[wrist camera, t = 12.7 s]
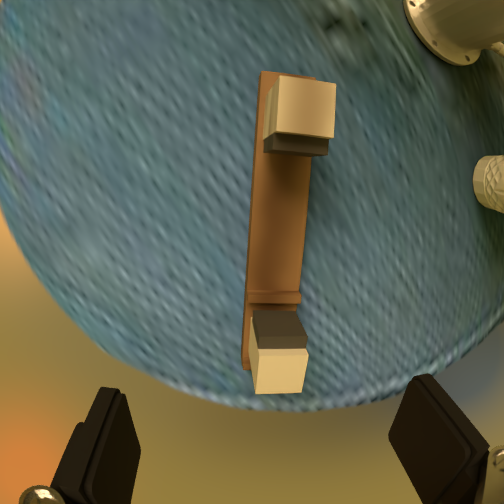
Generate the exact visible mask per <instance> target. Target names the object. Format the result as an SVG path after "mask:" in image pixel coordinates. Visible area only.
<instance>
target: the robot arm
mask: <svg viewBox="0 0 504 504" xmlns="http://www.w3.org/2000/svg"><path fill="white" fill-rule="evenodd" d="M403 5H404V10H405V14H406V16H407V19H408V21H409V23H410V25H411V27H412V28H413V30H414V32H415V33H416V35H417V36H418V37H419V39H420V40H421V41H422V42H423V43H424V45H425V46H426V47H427V48H428V49H429V50H430V51H431V52H432V53H434V54H435V55H436V56H438V57H439V58H440V59H442V60H444V61H446V62H447V63H450V64H453V65H456V66H465V65H469V64H472V63H474V62H475V61H476V60H477V59H478V58H479V56H480V53H481V50H483V49H487V50H493V51H494V52H495V53H497V54H499V55H500V56H502V57H504V44H502V43H501V41H504V0H403ZM388 436H389V441H390V443H391V445H392V447H393V449H394V450H395V452H396V454H397V456H398V458H399V460H400V462H401V463H402V465H403V467H404V469H405V471H406V473H407V475H408V476H409V478H410V480H411V482H412V484H413V486H414V487H415V489H416V492H417V494H418V495H419V497H420V499H421V501H422V503H423V504H504V446H497V447H495V448H493V449H492V450H491V452H489V451H488V448H489V447H490V445H489V444H488V443H487V441H486V440H485V439H484V438H483V437H482V435H481V434H480V433H479V431H478V430H477V429H476V428H475V427H474V425H473V424H472V423H471V422H470V420H469V419H468V418H467V417H466V415H465V414H464V413H463V412H462V411H461V409H460V408H459V407H458V406H457V405H456V403H455V402H454V401H453V400H452V399H451V397H450V396H449V395H448V394H447V393H446V392H445V390H444V389H443V388H442V387H441V386H440V385H439V383H438V382H437V381H436V380H435V379H434V378H433V376H432V375H430V374H428V373H427V374H423V375H418V376H414V377H413V378H412V380H411V381H410V382H409V383H408V385H407V388H406V391H405V393H404V396H403V399H402V402H401V404H400V407H399V409H398V412H397V414H396V416H395V419H394V421H393V424H392V426H391V428H390V431H389V434H388ZM140 454H141V449H140V444H139V441H138V438H137V435H136V431H135V428H134V424H133V421H132V417H131V414H130V410H129V406H128V403H127V399H126V396H125V394H121V393H120V390H119V389H116V388H107V387H101V388H100V389H99V391H98V393H97V395H96V398H95V400H94V402H93V404H92V406H91V409H90V411H89V413H88V416H87V418H86V420H85V422H84V423H83V422H79V423H78V424H77V425H76V427H75V429H74V431H73V433H72V436H71V438H70V440H69V442H68V445H67V447H66V449H65V451H64V454H63V456H62V458H61V461H60V463H59V466H58V468H57V470H56V473H55V476H54V478H53V480H52V483H51V485H50V487H48V486H43V485H37V486H32V487H30V488H28V489H26V490H25V491H24V492H23V493H22V494H21V496H20V498H19V504H131V499H132V493H133V488H134V483H135V478H136V474H137V469H138V464H139V459H140Z"/></svg>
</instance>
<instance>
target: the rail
mask: <svg viewBox="0 0 504 504" xmlns="http://www.w3.org/2000/svg"><path fill="white" fill-rule="evenodd" d="M335 97H336V84H333V83H327V82H322V81H316V78H313V77H307V76H300V75H293V74H285V73H277V72H268V71H261V73H260V76H259V84H258V98H257V113H256V127H255V142H254V157H253V172H252V187H251V202H250V218H249V233H248V249H247V264H246V280H245V296H244V312H243V329H242V345H241V361H242V366H243V370H251V364H250V358H249V352H248V349H249V336H250V324H251V317H252V316H253V310H272V311H295V312H296V308H297V303H301V294H300V292H299V284H300V275H301V266H302V257H303V248H304V238H305V228H306V218H307V207H308V195H309V183H310V171H311V157H314V156H324V155H328V144H329V139H331V138H334V120H335Z"/></svg>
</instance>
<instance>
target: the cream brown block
mask: <svg viewBox="0 0 504 504" xmlns="http://www.w3.org/2000/svg"><path fill="white" fill-rule="evenodd" d="M307 338H308V336H307V334H306V332H305V330H304V328H303V326H302V324H301V322H300V320H299V318H298V316H297V314H296V312H295V311H272V310H253V316H252V317H251V324H250V336H249V349H248V352H249V358H250V364H251V370H252V376H253V382H254V388H255V394H275V393H299V392H302V387H303V382H304V377H305V372H306V366H307V361H308V356H309V355H308V353H307V350H306V344H307Z"/></svg>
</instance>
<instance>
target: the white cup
mask: <svg viewBox="0 0 504 504" xmlns="http://www.w3.org/2000/svg"><path fill="white" fill-rule="evenodd" d="M473 187H474V193H475V195H476V197H477V200H478V202H480V203H481V204H482V205H483V206H484V207H487V208H490V209H494V210H497V211H499V212H501V213H504V155H500V156H484V157H483V158H481V159H480V160H479V161H478V163H477V165H476V167H475V169H474V174H473Z"/></svg>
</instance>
